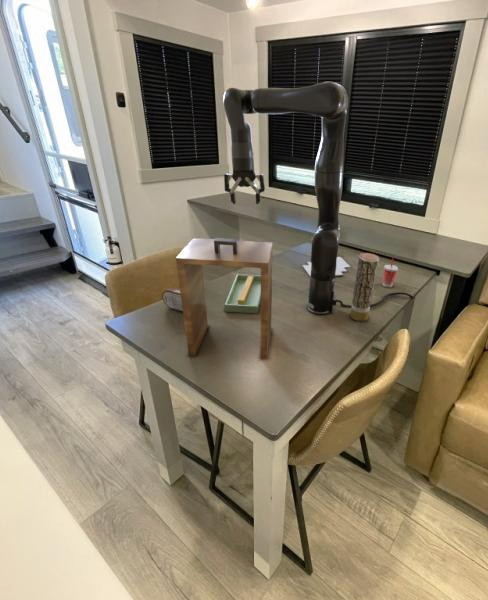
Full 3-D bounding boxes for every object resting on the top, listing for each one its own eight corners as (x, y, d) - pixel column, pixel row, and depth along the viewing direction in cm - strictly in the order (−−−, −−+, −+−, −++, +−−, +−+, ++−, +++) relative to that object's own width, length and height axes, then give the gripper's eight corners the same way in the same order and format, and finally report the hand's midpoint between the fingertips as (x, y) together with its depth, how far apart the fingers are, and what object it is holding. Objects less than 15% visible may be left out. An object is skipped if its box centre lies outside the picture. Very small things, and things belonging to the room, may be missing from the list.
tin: (201, 312, 122) (199, 292, 118) (196, 316, 120) (194, 296, 116) (168, 303, 126) (164, 284, 122) (162, 307, 124) (159, 287, 120)
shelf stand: (271, 329, 116) (272, 231, 99) (267, 358, 102) (268, 250, 85) (202, 326, 115) (191, 226, 97) (188, 355, 101) (173, 244, 84)
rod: (253, 281, 147) (253, 276, 146) (244, 305, 128) (243, 300, 127) (248, 280, 147) (248, 276, 146) (237, 305, 128) (237, 300, 127)
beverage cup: (393, 282, 156) (399, 255, 149) (394, 288, 150) (401, 260, 144) (380, 281, 156) (385, 253, 149) (381, 287, 151) (387, 258, 144)
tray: (236, 280, 148) (236, 274, 146) (264, 281, 148) (264, 275, 147) (225, 311, 124) (224, 304, 123) (257, 313, 125) (257, 306, 123)
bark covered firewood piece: (367, 323, 123) (379, 261, 111) (349, 320, 124) (358, 258, 112) (368, 314, 129) (379, 254, 117) (350, 311, 130) (360, 252, 118)
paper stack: (296, 259, 173) (296, 258, 173) (340, 256, 181) (340, 255, 180) (310, 278, 154) (310, 277, 154) (358, 274, 161) (359, 273, 161)
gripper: (219, 156, 111) (224, 205, 119) (261, 157, 112) (264, 205, 119) (224, 155, 118) (228, 201, 126) (264, 155, 118) (266, 201, 126)
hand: (245, 203), depth 122 cm, fingers open, 8 cm apart
